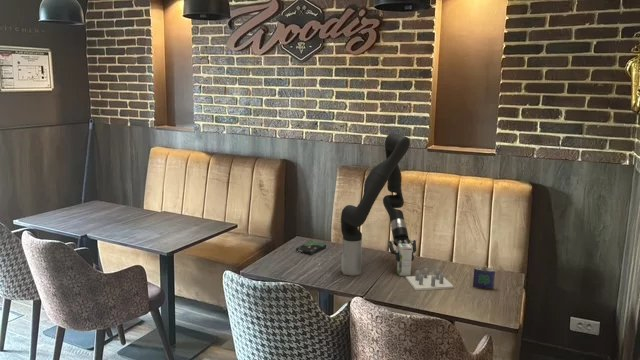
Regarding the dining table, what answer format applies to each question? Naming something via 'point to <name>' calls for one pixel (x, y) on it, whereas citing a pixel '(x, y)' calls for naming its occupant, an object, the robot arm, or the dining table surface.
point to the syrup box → (404, 260)
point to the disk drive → (311, 248)
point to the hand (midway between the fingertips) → (405, 260)
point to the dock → (429, 281)
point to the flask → (484, 278)
